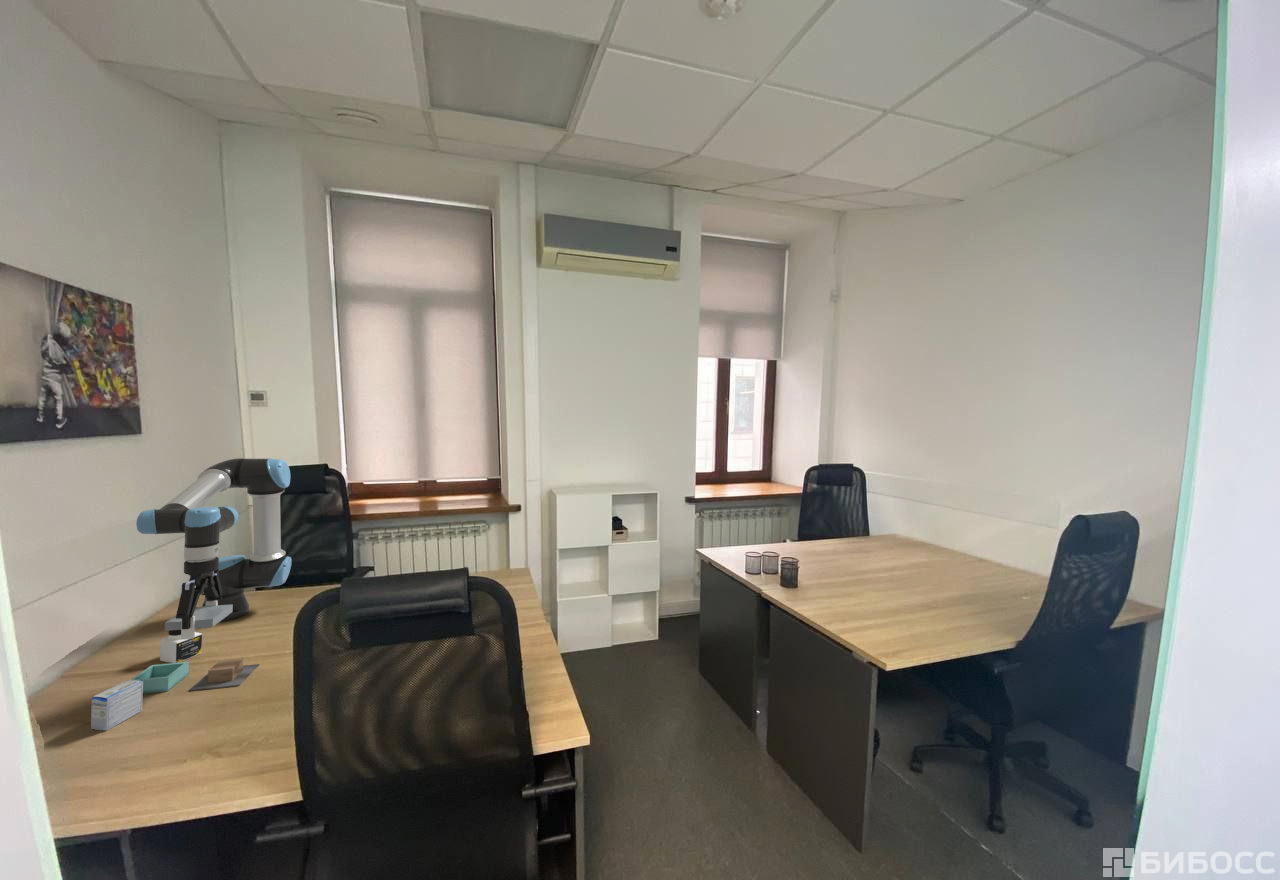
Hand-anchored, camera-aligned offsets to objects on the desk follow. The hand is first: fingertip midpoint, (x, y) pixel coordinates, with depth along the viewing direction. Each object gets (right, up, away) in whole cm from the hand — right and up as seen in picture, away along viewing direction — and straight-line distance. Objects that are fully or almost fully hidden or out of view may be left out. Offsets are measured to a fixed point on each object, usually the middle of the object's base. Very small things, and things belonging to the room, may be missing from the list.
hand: (199, 629), depth 134 cm
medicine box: (-3, -16, -19) cm, 25 cm away
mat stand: (+6, -16, +2) cm, 17 cm away
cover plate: (0, +3, 0) cm, 3 cm away
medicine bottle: (-18, -15, +12) cm, 27 cm away
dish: (-9, -15, -3) cm, 18 cm away
